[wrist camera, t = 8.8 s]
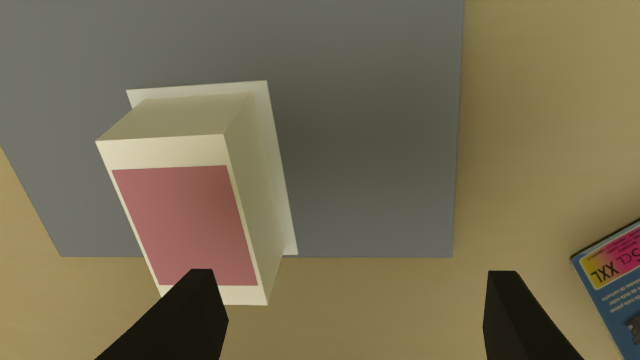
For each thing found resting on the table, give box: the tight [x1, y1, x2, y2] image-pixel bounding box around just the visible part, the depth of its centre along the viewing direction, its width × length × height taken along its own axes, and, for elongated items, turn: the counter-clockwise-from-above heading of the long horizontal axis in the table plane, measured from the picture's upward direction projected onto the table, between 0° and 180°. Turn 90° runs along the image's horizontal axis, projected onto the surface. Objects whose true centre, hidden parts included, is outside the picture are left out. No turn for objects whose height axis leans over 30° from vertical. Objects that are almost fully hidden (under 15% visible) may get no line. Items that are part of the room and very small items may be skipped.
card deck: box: [95, 92, 285, 305], centre depth 20 cm, size 5×8×4 cm, turn 7°
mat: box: [0, 0, 464, 258], centre depth 20 cm, size 18×22×1 cm
